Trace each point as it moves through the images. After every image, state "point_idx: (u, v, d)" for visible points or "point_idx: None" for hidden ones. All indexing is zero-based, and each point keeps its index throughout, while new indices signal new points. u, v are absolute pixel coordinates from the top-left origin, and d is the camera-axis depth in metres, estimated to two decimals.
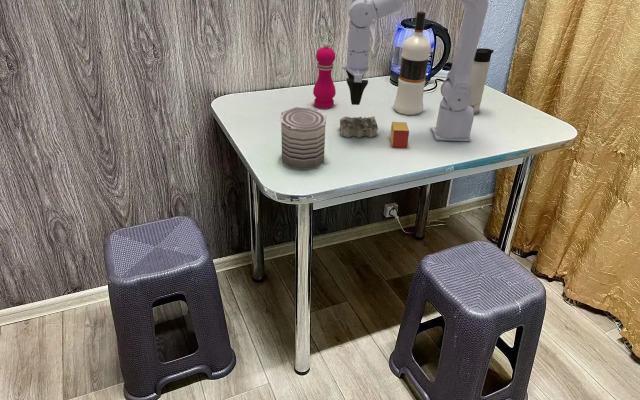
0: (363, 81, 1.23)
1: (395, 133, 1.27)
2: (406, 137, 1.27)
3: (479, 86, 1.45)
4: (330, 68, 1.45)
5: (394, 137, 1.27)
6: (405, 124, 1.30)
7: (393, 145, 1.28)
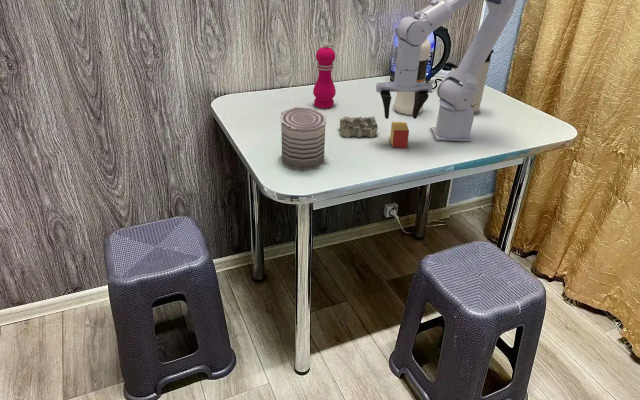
0: (385, 95, 1.22)
1: (395, 133, 1.27)
2: (406, 137, 1.27)
3: (479, 86, 1.45)
4: (330, 68, 1.45)
5: (394, 137, 1.27)
6: (405, 124, 1.30)
7: (393, 145, 1.28)
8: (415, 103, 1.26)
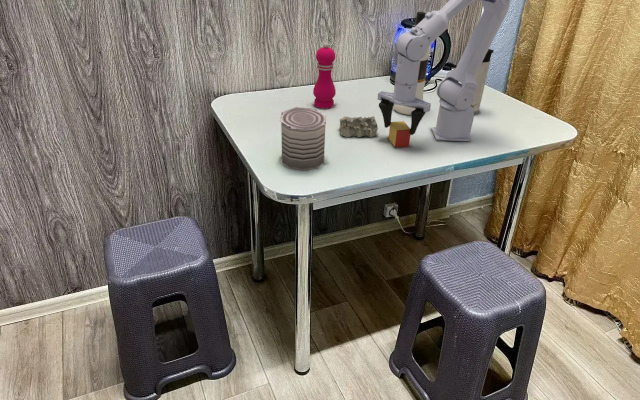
0: None
1: (397, 133, 1.27)
2: (408, 136, 1.28)
3: (479, 86, 1.45)
4: (330, 68, 1.45)
5: (397, 137, 1.27)
6: (404, 123, 1.30)
7: (396, 145, 1.29)
8: (388, 114, 1.29)
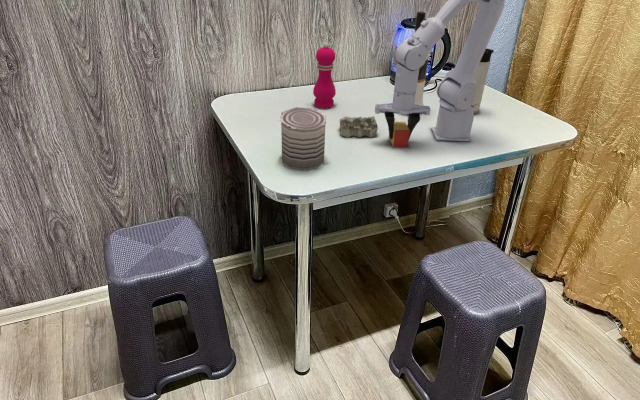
0: None
1: (396, 133, 1.27)
2: (407, 136, 1.27)
3: (479, 86, 1.45)
4: (330, 68, 1.45)
5: (395, 137, 1.27)
6: (405, 123, 1.30)
7: (394, 145, 1.29)
8: None
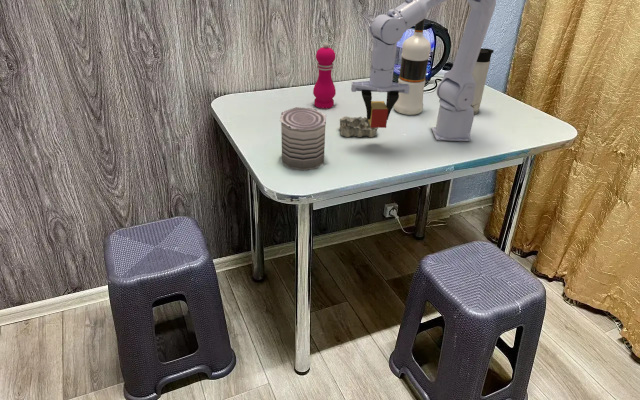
0: None
1: (373, 112, 1.20)
2: (385, 116, 1.21)
3: (479, 86, 1.45)
4: (330, 68, 1.45)
5: (372, 116, 1.21)
6: (383, 103, 1.24)
7: (372, 125, 1.22)
8: None
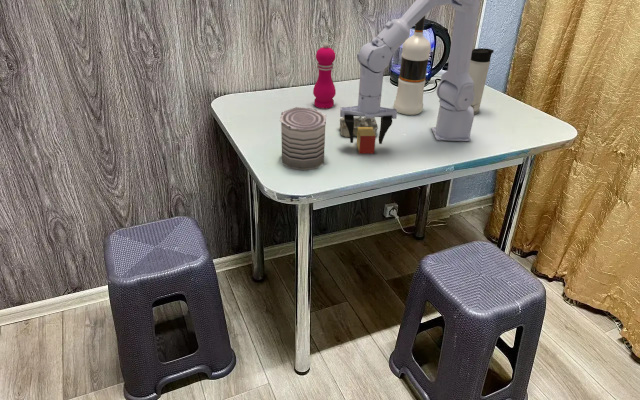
0: None
1: (361, 139, 1.23)
2: (373, 142, 1.24)
3: (479, 86, 1.45)
4: (330, 68, 1.45)
5: (361, 143, 1.24)
6: (371, 129, 1.26)
7: (360, 151, 1.25)
8: None
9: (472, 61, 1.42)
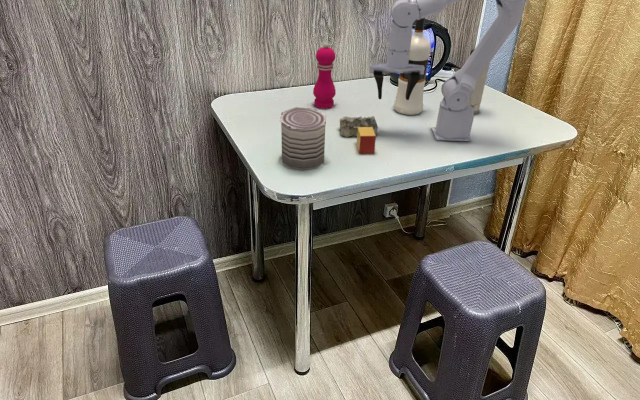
0: None
1: (361, 139, 1.23)
2: (373, 142, 1.24)
3: (479, 86, 1.45)
4: (330, 68, 1.45)
5: (361, 143, 1.24)
6: (371, 129, 1.26)
7: (360, 151, 1.25)
8: None
9: None
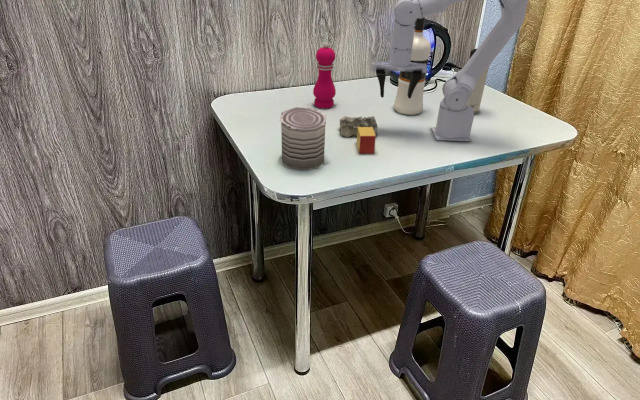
0: None
1: (361, 139, 1.23)
2: (373, 142, 1.24)
3: (479, 86, 1.45)
4: (330, 68, 1.45)
5: (361, 143, 1.24)
6: (371, 129, 1.26)
7: (360, 151, 1.25)
8: None
9: None
